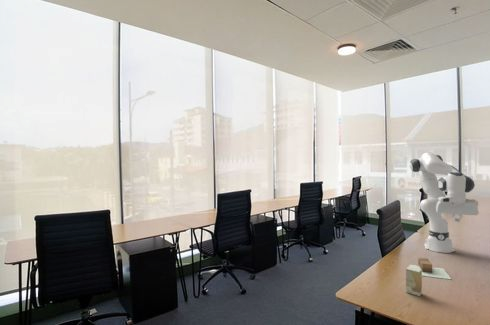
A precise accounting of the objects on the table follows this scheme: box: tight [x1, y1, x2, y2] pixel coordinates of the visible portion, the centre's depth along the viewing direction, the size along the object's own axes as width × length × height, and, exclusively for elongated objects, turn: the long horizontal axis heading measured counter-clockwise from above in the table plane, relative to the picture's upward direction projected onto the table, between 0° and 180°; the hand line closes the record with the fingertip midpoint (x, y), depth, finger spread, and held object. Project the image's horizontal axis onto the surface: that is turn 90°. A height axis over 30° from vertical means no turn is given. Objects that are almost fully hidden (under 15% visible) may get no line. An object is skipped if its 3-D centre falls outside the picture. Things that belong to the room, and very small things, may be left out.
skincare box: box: [405, 265, 423, 297], centre depth 132 cm, size 6×4×12 cm
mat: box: [408, 264, 452, 280], centre depth 157 cm, size 16×18×1 cm
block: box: [417, 257, 433, 273], centre depth 160 cm, size 5×5×11 cm
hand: (456, 221), depth 159 cm, fingers closed
